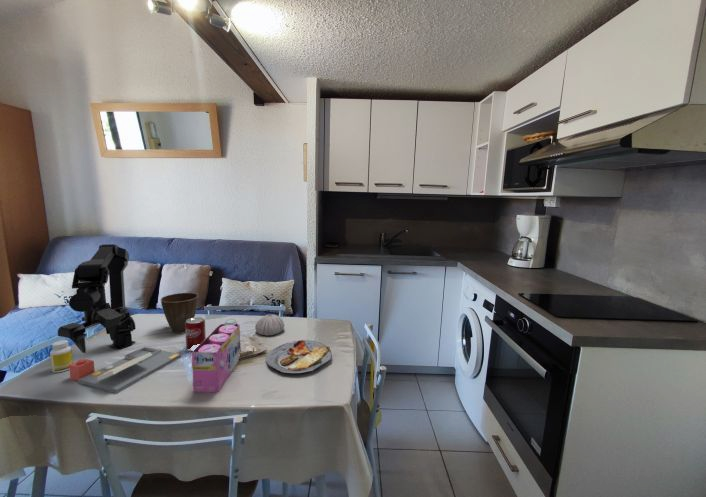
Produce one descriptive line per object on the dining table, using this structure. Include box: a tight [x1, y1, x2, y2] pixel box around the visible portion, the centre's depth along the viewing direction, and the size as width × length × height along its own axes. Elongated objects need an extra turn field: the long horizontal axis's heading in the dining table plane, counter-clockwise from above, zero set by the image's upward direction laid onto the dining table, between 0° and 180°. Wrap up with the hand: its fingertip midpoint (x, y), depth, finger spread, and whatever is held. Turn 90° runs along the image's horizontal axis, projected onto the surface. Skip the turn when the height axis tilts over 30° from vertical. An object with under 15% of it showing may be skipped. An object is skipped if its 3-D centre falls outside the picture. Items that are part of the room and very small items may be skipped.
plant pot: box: [160, 292, 199, 334], centre depth 140 cm, size 15×15×16 cm
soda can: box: [184, 316, 207, 350], centre depth 123 cm, size 7×7×12 cm
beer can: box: [223, 318, 238, 326], centre depth 123 cm, size 5×5×12 cm
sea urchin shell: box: [254, 314, 285, 336], centre depth 142 cm, size 13×14×8 cm
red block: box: [68, 358, 96, 382], centre depth 102 cm, size 4×4×6 cm
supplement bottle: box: [49, 339, 74, 374], centre depth 105 cm, size 5×5×10 cm
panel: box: [78, 349, 182, 394], centre depth 107 cm, size 17×24×3 cm
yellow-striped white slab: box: [97, 352, 152, 381], centre depth 101 cm, size 8×13×1 cm, turn 163°
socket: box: [124, 345, 162, 363], centre depth 114 cm, size 8×8×1 cm
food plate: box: [265, 339, 333, 374], centre depth 117 cm, size 25×23×4 cm
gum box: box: [191, 323, 242, 393], centre depth 106 cm, size 24×8×14 cm, turn 2°
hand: (99, 346), depth 101 cm, fingers open, 9 cm apart
